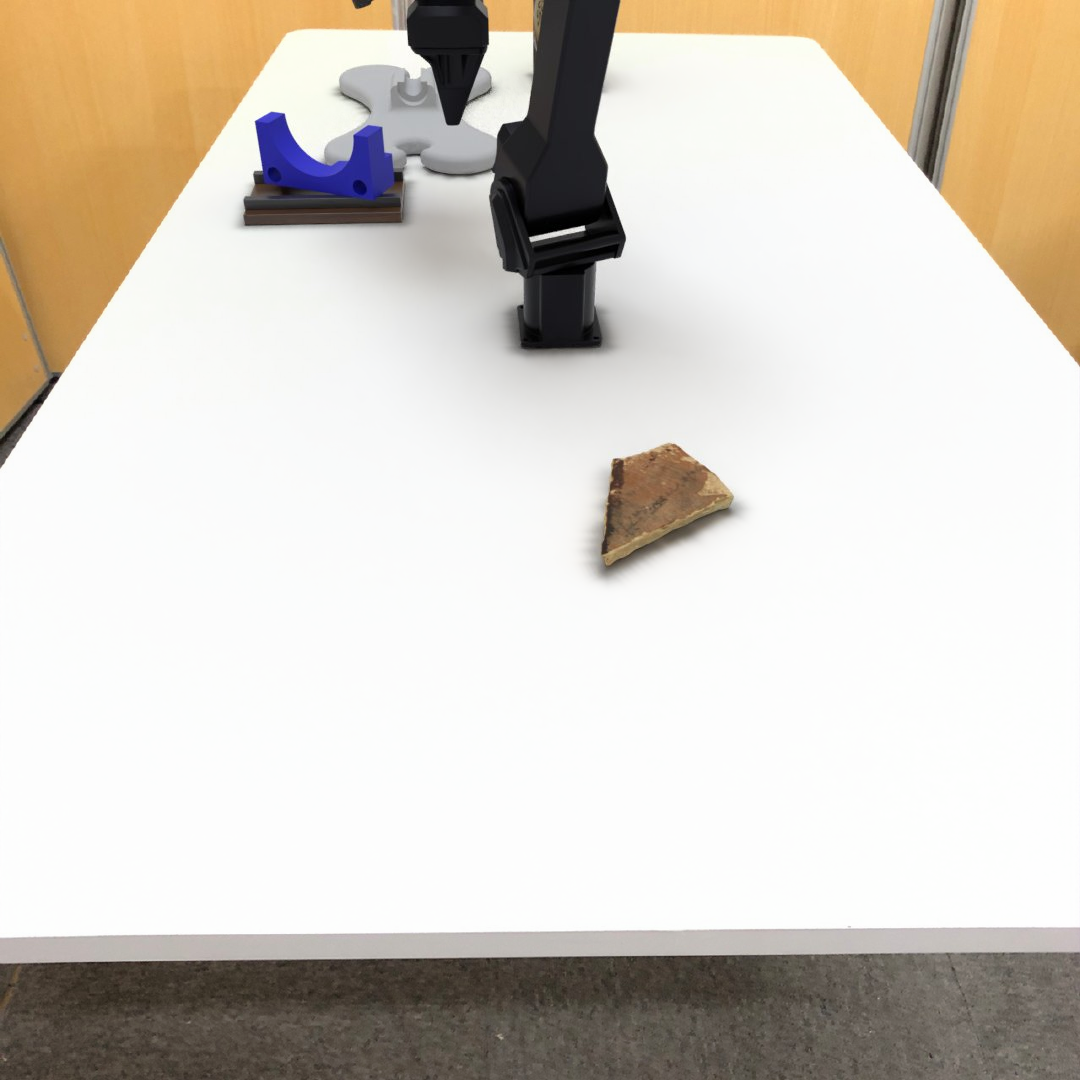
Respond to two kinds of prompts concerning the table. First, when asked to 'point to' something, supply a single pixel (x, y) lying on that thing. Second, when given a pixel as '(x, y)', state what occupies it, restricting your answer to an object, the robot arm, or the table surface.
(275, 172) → the blue cradle block
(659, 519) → the shard
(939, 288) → the table surface
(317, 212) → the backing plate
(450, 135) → the holder
